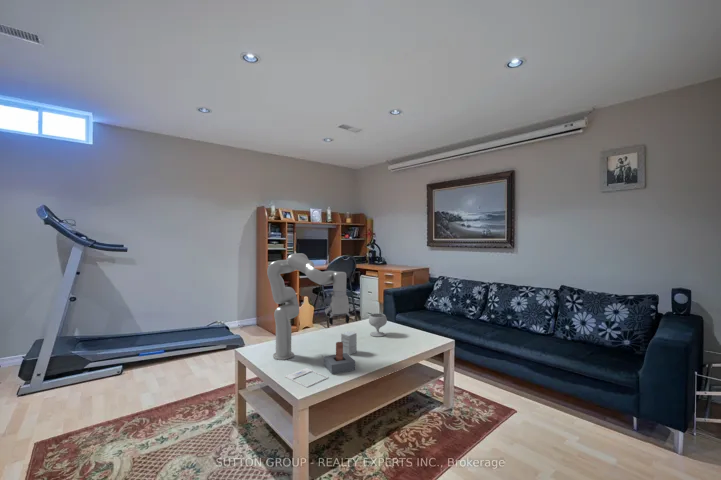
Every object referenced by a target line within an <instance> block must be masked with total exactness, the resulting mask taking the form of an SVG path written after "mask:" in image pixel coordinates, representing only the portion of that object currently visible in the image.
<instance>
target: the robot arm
mask: <svg viewBox="0 0 721 480" xmlns="http://www.w3.org/2000/svg"><path fill="white" fill-rule="evenodd" d="M295 271H299V272H301V273H302V274H305V275H306V277H307V279H309V280H310V281H311V282H314V283H315V284H317V285H320V286H325V285H330V284H332V286H333V287H332V291H330V295H331V299H330V305H329V306H328V307H326V309H324V313H325V314H326V316H328V323H329V324H330V326H333V325H334V324H333V321H334V318H333V316H335V315H345V323H346V324H349V322H350V316H351V315H352V313H353V311H354V309H355V308H354V307H352V306H350V304H349V303H350V302H349V297H348V295H347V273H346V272H345V271H335V270H324V271H321V270H319V269H317V268H316V267H315V263H314V261H312V260H310V259H309V258H308V256H307V255H306V254H305V253H302V252H301V253H296V252H295V253H292V254H290V255H288V257H287V258H286V259H278V260H274V261H272V262H270V264H269V265H268V267H267V270H266V272H267V273H266V274H267V278H268V280H269V284H270V289H271V294H272V299H273V301H274V303H275V304H277V305H279V306H277V307H276V309H275V310H274V313H273V316H274V321H275V322H274V323H275V353H273V355H272V358H273V359H274V360H280V361H282V360H283V361H285V360H288V359H292V358H293V357H294V356H295V353H294V352H293V351H292V324H291V322H290V320H291V319H294V318H296V317H298V316H299V314H300V305H299V301H298V297H297V292H296V291H295V289H294V288H293V287H292V286H286V285H285V281H284V279H283V277H282V275H281V274H289V273H292V272H295ZM281 304H284V305H281ZM329 312H330V313H329Z"/></svg>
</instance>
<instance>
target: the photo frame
mask: <svg viewBox="0 0 721 480" xmlns="http://www.w3.org/2000/svg"><path fill="white" fill-rule="evenodd" d="M310 373H314V374H316V375H319V376H321V377H323V378H321V379H319V380H317V381H315V382H312V383H310V384H308V385H307V384H304V383H303V382H300V381H298V380H295V379H297V378H300V377H302V376H305V375H308V374H310ZM284 378H286V379H288V380H290V381H292V382H294V383H296V384H298V385H301V386H302V387H304V388H310V387H311V386H315V385H316V384H319V383H321V382H323V381H325V380H327V379H329V376H327V375H325V374H323V373H320V372H318V371H315V370H313V369H310V368H307V367H306V368H302V369H300V370H297V371H295V372H292V373H290V374H287V375H285V376H284Z"/></svg>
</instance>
